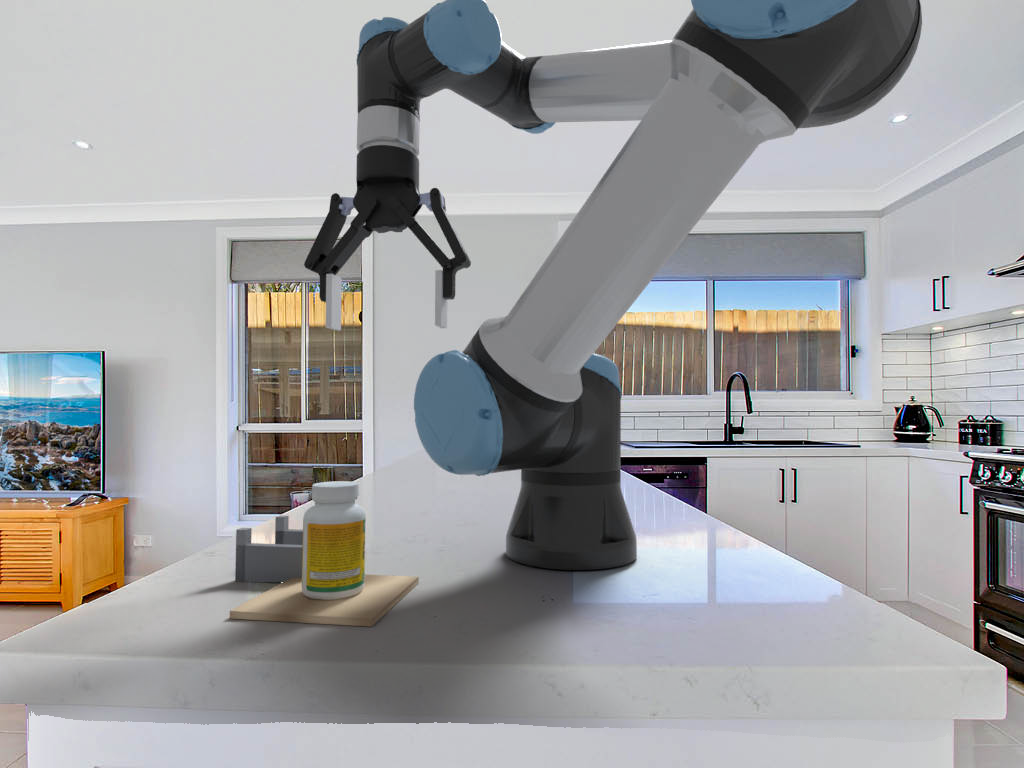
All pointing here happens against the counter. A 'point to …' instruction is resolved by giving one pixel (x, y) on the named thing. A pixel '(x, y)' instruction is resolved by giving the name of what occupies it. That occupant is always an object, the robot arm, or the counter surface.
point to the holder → (269, 555)
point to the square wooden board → (327, 603)
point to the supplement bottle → (333, 542)
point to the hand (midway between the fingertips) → (386, 328)
